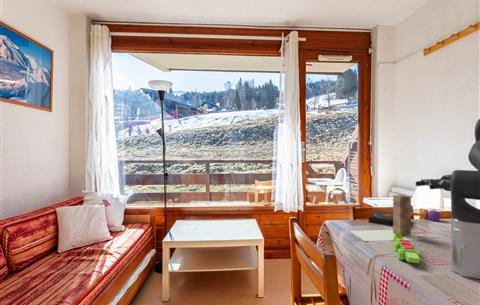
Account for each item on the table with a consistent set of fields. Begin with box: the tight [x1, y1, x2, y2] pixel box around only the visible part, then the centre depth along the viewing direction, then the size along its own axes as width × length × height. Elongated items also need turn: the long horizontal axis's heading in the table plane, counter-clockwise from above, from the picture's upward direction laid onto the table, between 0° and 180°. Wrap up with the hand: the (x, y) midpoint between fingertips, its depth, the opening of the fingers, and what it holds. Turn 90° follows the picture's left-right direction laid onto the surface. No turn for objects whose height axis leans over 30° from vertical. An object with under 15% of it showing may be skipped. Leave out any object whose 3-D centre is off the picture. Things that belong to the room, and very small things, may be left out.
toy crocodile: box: [392, 234, 421, 264], centre depth 99 cm, size 20×7×6 cm, turn 159°
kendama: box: [411, 209, 442, 222], centre depth 151 cm, size 6×6×20 cm
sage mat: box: [349, 229, 423, 242], centre depth 121 cm, size 26×14×1 cm, turn 93°
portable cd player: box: [368, 210, 393, 227], centre depth 143 cm, size 16×17×4 cm
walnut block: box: [392, 194, 412, 236], centre depth 122 cm, size 5×5×18 cm
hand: (423, 185), depth 122 cm, fingers open, 8 cm apart
